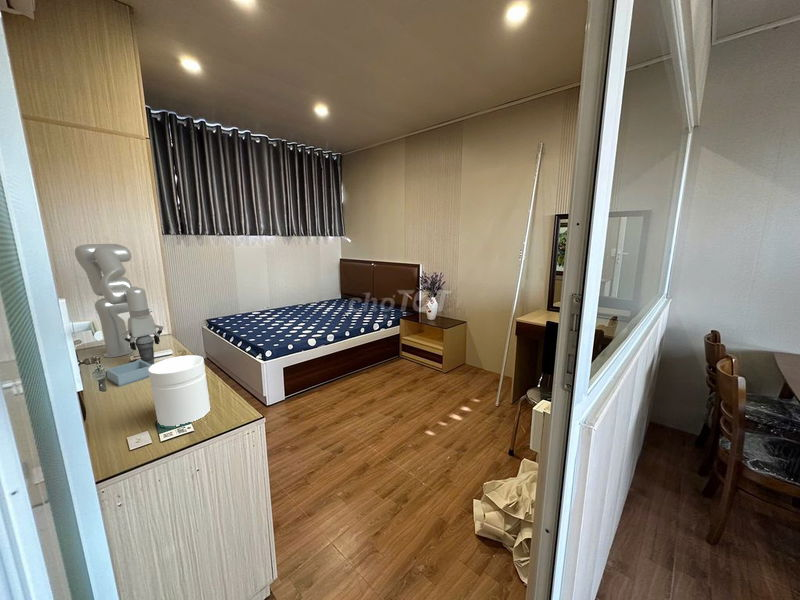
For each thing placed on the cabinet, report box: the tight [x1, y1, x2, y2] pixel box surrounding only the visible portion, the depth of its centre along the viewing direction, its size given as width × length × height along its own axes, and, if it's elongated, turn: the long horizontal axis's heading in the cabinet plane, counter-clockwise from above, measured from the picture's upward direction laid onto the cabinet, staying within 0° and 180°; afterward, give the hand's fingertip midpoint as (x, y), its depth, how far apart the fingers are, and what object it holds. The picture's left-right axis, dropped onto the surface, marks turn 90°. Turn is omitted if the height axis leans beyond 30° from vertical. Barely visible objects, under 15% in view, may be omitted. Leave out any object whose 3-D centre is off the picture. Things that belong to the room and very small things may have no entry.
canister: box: [148, 354, 211, 426], centre depth 113 cm, size 16×16×20 cm
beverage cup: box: [135, 335, 155, 365], centre depth 159 cm, size 7×7×20 cm
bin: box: [105, 359, 153, 388], centre depth 145 cm, size 13×13×5 cm
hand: (145, 346), depth 159 cm, fingers open, 9 cm apart
